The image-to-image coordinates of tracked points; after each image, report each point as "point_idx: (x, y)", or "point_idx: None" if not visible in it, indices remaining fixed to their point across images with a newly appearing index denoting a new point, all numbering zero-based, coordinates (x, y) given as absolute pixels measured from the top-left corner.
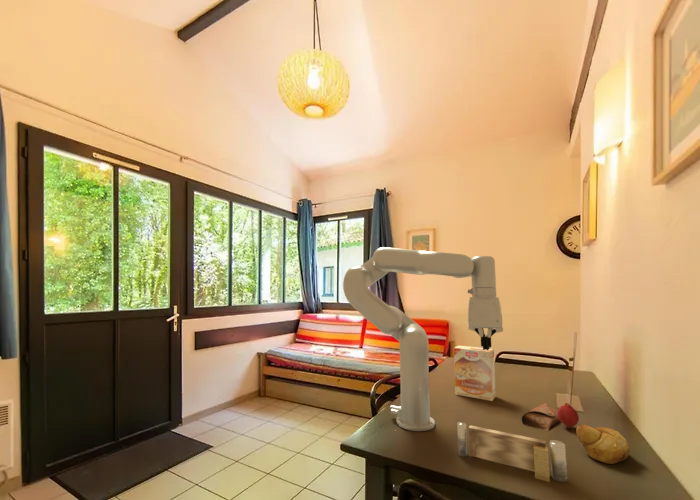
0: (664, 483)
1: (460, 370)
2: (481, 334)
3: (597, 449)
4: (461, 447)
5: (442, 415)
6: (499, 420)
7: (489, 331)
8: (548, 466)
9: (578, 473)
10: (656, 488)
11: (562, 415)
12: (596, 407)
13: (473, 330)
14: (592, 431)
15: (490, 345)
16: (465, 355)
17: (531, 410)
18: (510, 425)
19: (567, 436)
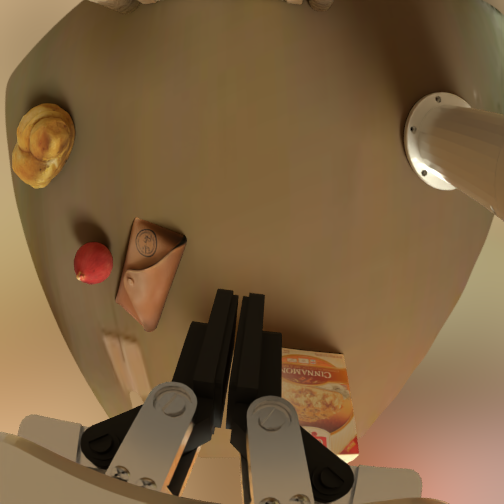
0: (13, 96)
1: (337, 401)
2: (269, 426)
3: (49, 108)
4: None
5: (385, 216)
6: (240, 236)
7: (148, 448)
8: None
9: (96, 41)
10: (22, 73)
11: (97, 251)
12: (91, 352)
13: (366, 469)
14: (35, 128)
15: (191, 327)
16: (326, 438)
17: (161, 275)
18: (213, 214)
19: (103, 203)
